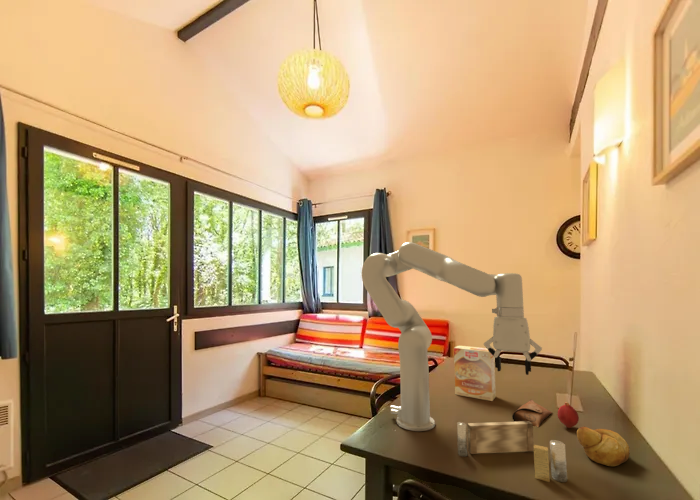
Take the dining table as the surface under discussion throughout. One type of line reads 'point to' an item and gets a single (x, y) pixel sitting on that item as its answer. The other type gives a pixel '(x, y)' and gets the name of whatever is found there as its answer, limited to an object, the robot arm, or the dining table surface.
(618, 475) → the dining table surface
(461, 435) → the hinge post
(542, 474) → the slab and cylinder
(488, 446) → the strip
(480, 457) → the dining table surface
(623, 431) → the dining table surface
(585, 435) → the bread roll
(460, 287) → the robot arm
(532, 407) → the sunglasses case
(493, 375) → the coffeecake box
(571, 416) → the red round fruit
